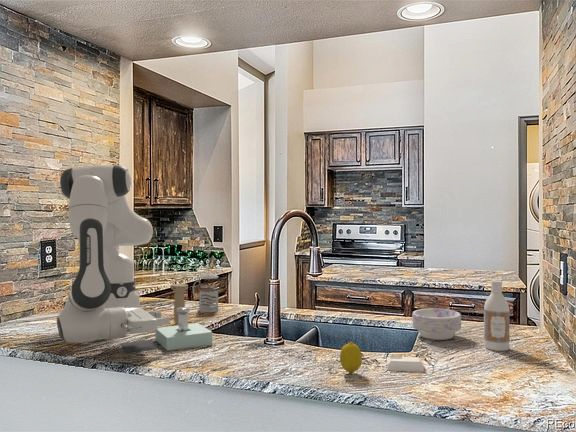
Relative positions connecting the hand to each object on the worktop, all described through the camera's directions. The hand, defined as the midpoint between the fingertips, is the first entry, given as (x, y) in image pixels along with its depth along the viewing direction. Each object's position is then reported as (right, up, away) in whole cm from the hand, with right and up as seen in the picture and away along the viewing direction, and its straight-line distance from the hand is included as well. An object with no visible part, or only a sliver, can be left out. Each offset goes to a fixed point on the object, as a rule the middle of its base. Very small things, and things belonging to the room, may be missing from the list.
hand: (165, 317), depth 151 cm
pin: (+5, -9, +3) cm, 10 cm away
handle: (-1, -9, +24) cm, 25 cm away
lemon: (+54, -9, -27) cm, 61 cm away
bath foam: (+100, -8, -5) cm, 100 cm away
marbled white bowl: (+86, -8, +8) cm, 87 cm away
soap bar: (+68, -9, -23) cm, 73 cm away
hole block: (+5, -9, +3) cm, 10 cm away
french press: (+4, -8, +55) cm, 56 cm away
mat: (-7, -9, -2) cm, 11 cm away
